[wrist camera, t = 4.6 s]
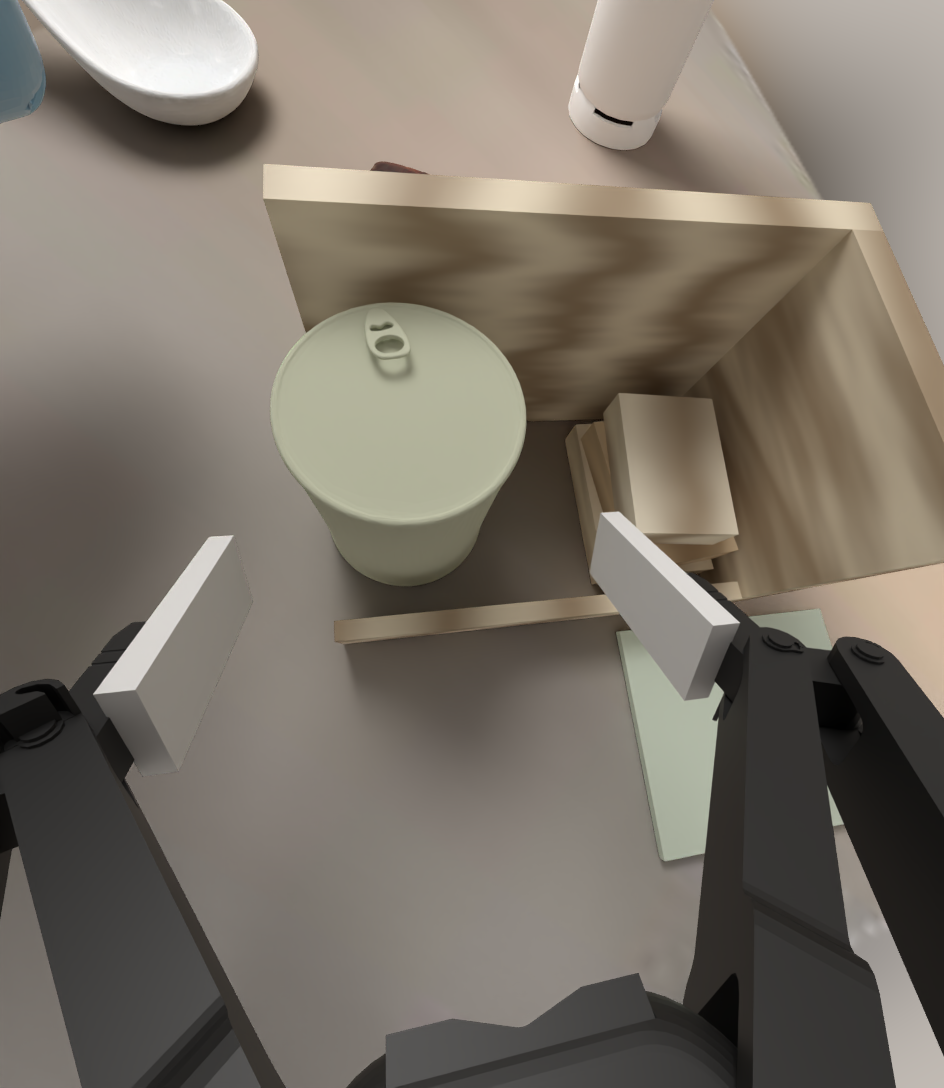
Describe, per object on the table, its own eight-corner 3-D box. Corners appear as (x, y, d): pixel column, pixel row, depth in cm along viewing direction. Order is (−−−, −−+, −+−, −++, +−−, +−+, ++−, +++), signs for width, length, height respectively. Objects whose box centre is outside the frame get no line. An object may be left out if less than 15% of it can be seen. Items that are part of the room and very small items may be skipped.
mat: (659, 857, 23) (664, 861, 23) (615, 631, 26) (619, 631, 26) (876, 812, 25) (884, 815, 25) (812, 609, 28) (819, 608, 28)
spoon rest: (291, 78, 35) (262, -64, 28) (237, 177, 32) (189, 43, 25) (-10, -20, 33) (-119, -196, 27) (-101, 73, 30) (-252, -100, 23)
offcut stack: (591, 584, 27) (640, 563, 21) (564, 439, 29) (602, 385, 23) (696, 574, 28) (770, 552, 22) (662, 436, 30) (720, 383, 25)
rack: (343, 644, 24) (257, 620, 10) (335, 405, 28) (263, 163, 14) (728, 602, 28) (1025, 547, 14) (674, 398, 31) (870, 203, 18)
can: (455, 431, 28) (486, 274, 17) (500, 562, 26) (568, 485, 15) (313, 462, 26) (238, 309, 15) (349, 606, 24) (295, 556, 13)
